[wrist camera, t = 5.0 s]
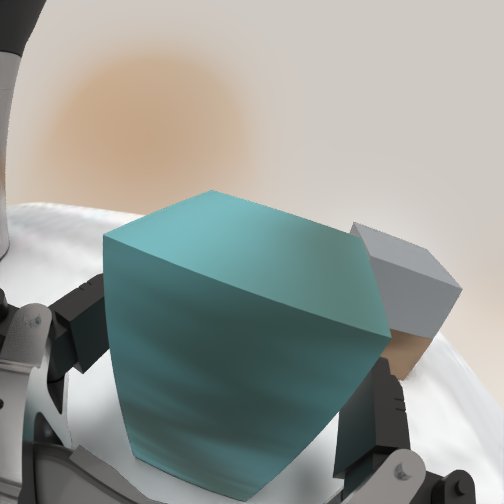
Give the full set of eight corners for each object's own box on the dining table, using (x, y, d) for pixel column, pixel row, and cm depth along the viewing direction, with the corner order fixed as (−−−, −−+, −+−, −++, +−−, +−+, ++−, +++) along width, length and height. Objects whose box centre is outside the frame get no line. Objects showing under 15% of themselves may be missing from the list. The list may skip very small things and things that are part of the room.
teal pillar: (133, 455, 8) (102, 234, 4) (181, 383, 13) (211, 190, 9) (245, 501, 8) (391, 337, 4) (271, 418, 12) (361, 238, 8)
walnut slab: (318, 358, 17) (342, 312, 16) (323, 306, 24) (339, 266, 22) (403, 380, 16) (432, 340, 15) (390, 327, 23) (410, 291, 21)
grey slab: (343, 315, 16) (371, 255, 14) (336, 267, 22) (353, 221, 20) (432, 339, 15) (462, 289, 13) (407, 290, 21) (426, 249, 20)
